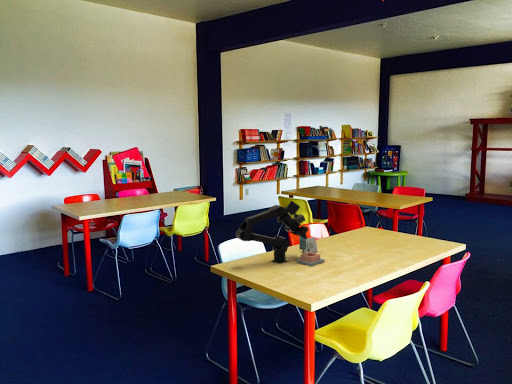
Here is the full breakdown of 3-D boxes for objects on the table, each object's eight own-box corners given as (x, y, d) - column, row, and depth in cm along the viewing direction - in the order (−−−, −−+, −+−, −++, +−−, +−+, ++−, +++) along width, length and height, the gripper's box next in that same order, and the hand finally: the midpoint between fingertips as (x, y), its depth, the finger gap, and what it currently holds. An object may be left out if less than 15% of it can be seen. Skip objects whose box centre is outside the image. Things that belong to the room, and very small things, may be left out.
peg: (303, 250, 259) (303, 230, 257) (298, 248, 262) (297, 229, 260) (307, 248, 262) (307, 228, 260) (302, 247, 265) (302, 228, 263)
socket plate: (311, 266, 245) (311, 258, 245) (296, 262, 253) (296, 254, 253) (324, 261, 254) (324, 254, 253) (309, 258, 261) (309, 250, 261)
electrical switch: (305, 254, 270) (304, 239, 270) (300, 253, 275) (299, 238, 274) (317, 252, 274) (317, 237, 274) (313, 251, 279) (312, 236, 278)
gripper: (305, 213, 249) (321, 230, 255) (288, 208, 265) (304, 224, 272) (293, 228, 246) (310, 245, 253) (277, 222, 263) (293, 238, 269)
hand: (304, 237), depth 262 cm, fingers closed on peg, 4 cm apart
